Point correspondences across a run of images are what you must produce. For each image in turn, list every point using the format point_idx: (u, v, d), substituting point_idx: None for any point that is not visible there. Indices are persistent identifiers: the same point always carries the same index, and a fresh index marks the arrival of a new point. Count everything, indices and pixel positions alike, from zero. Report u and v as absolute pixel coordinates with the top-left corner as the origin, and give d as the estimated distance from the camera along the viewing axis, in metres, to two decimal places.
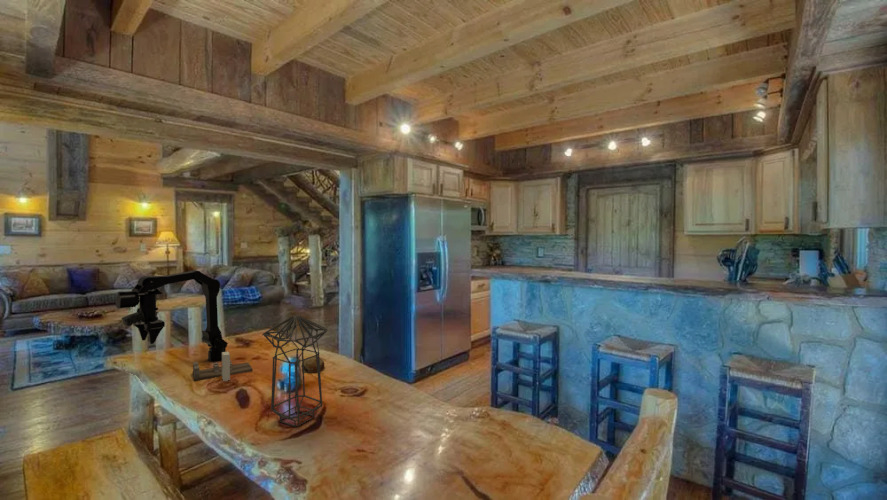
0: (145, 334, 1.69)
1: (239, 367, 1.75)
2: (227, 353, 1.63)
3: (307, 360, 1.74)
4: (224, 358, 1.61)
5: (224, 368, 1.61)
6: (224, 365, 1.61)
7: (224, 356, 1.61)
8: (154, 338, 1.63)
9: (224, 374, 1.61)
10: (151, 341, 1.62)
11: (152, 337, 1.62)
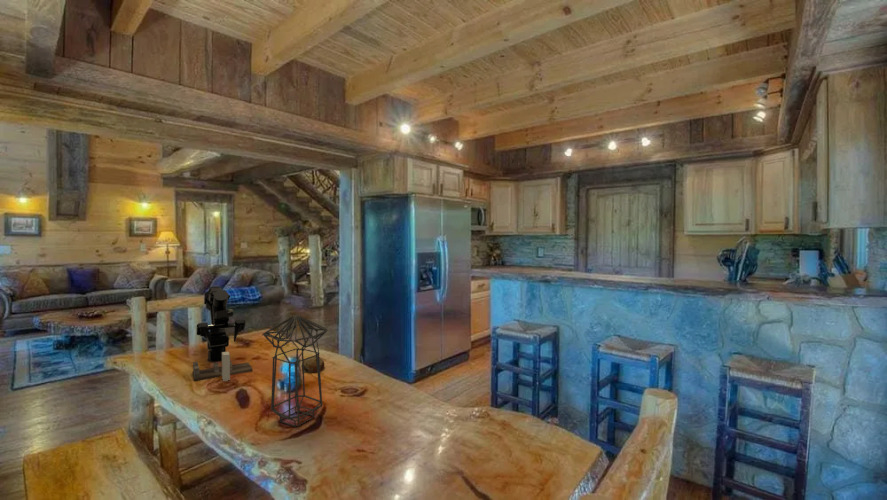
0: None
1: (239, 367, 1.75)
2: (227, 353, 1.63)
3: (307, 360, 1.74)
4: (224, 358, 1.61)
5: (224, 368, 1.61)
6: (224, 365, 1.61)
7: (224, 356, 1.61)
8: (235, 337, 1.74)
9: (224, 374, 1.61)
10: (235, 338, 1.73)
11: (236, 335, 1.74)
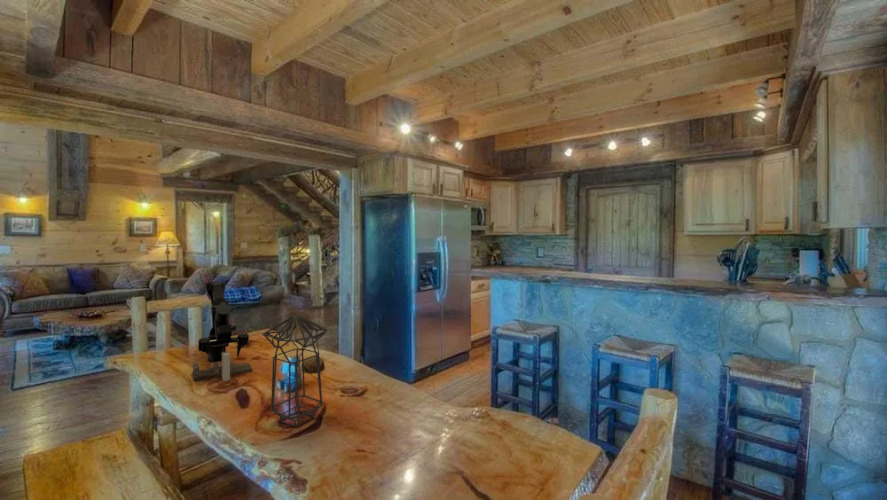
0: (212, 356, 1.62)
1: (239, 367, 1.75)
2: (227, 353, 1.63)
3: (307, 360, 1.74)
4: (224, 358, 1.61)
5: (224, 368, 1.61)
6: (224, 365, 1.61)
7: (224, 356, 1.61)
8: (239, 352, 1.68)
9: (224, 374, 1.61)
10: None
11: (239, 350, 1.68)
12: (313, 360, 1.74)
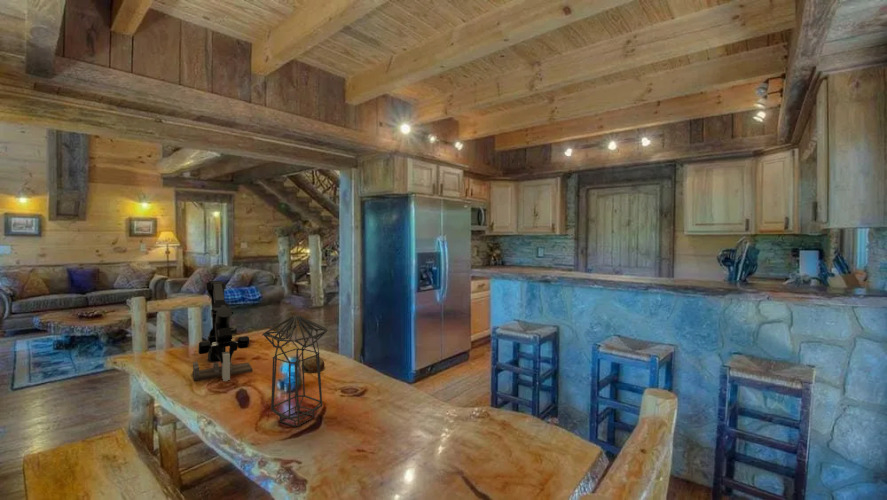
0: None
1: (239, 367, 1.75)
2: (227, 353, 1.63)
3: (307, 360, 1.75)
4: (224, 358, 1.61)
5: (224, 368, 1.61)
6: (224, 365, 1.61)
7: (224, 356, 1.61)
8: (231, 357, 1.65)
9: (224, 374, 1.61)
10: None
11: (231, 354, 1.65)
12: (313, 360, 1.74)
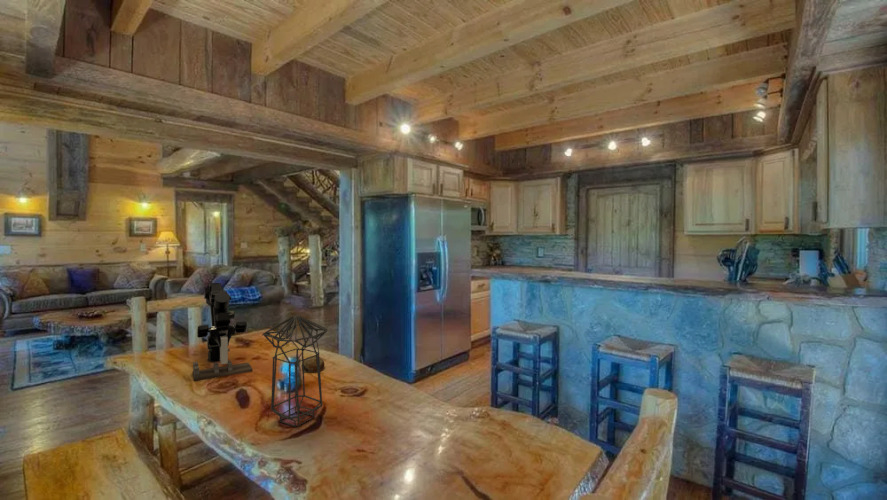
0: None
1: (239, 367, 1.75)
2: (225, 337, 1.68)
3: (307, 360, 1.75)
4: (222, 341, 1.66)
5: (222, 351, 1.66)
6: (222, 348, 1.66)
7: (222, 340, 1.66)
8: None
9: (222, 357, 1.66)
10: None
11: (229, 338, 1.70)
12: (313, 360, 1.74)
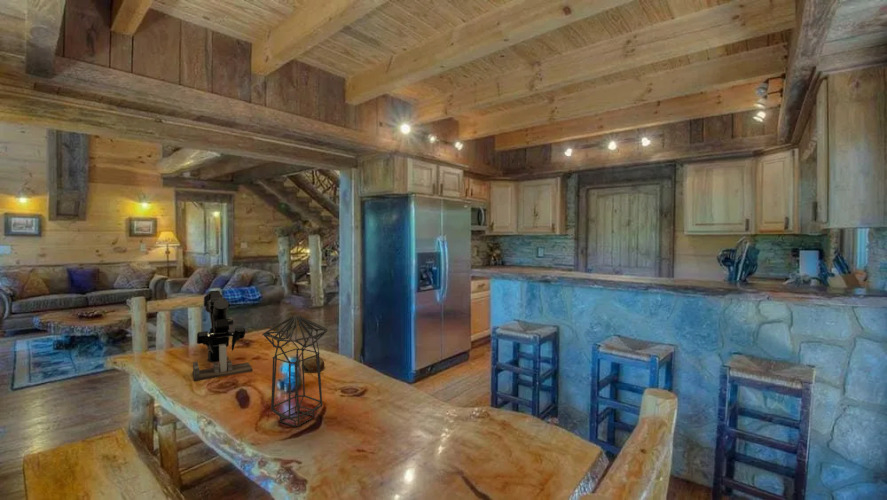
0: None
1: (239, 367, 1.75)
2: (224, 345, 1.71)
3: (307, 360, 1.75)
4: (221, 350, 1.69)
5: (221, 359, 1.69)
6: (221, 356, 1.69)
7: (221, 348, 1.69)
8: (233, 346, 1.74)
9: (221, 365, 1.69)
10: (233, 347, 1.73)
11: None
12: (313, 360, 1.74)
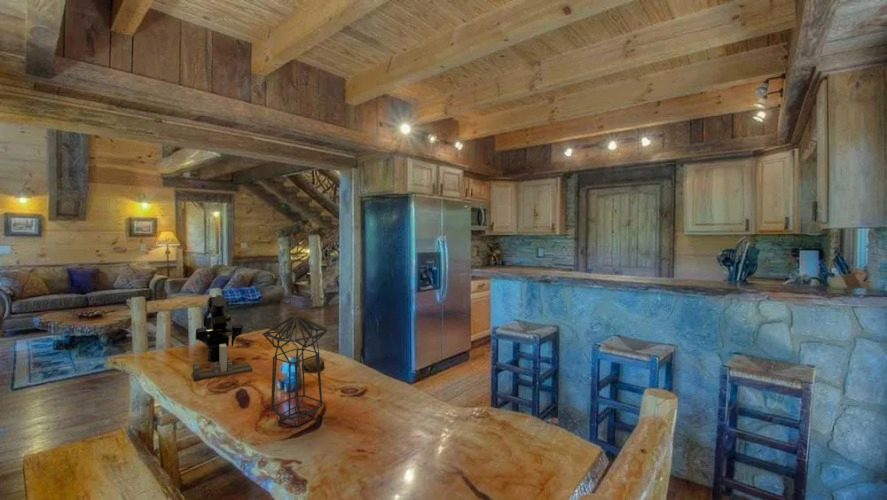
0: (208, 344, 1.76)
1: (239, 367, 1.75)
2: (224, 345, 1.71)
3: (307, 360, 1.75)
4: (221, 350, 1.69)
5: (221, 359, 1.69)
6: (221, 356, 1.69)
7: (221, 348, 1.69)
8: None
9: (221, 365, 1.69)
10: (233, 343, 1.80)
11: (234, 339, 1.82)
12: (313, 360, 1.74)
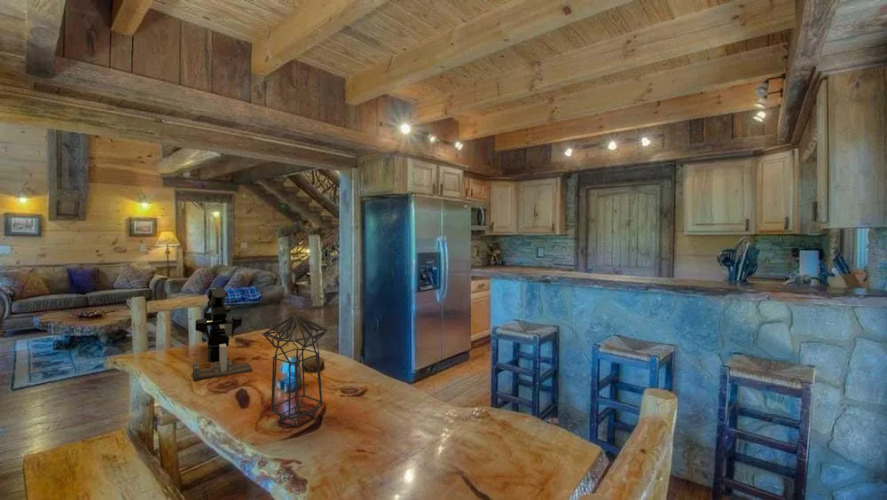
0: (208, 335, 1.76)
1: (239, 367, 1.75)
2: (224, 345, 1.71)
3: (307, 360, 1.75)
4: (221, 350, 1.69)
5: (221, 359, 1.69)
6: (221, 356, 1.69)
7: (221, 348, 1.69)
8: None
9: (221, 365, 1.69)
10: None
11: (233, 331, 1.82)
12: (313, 360, 1.75)
